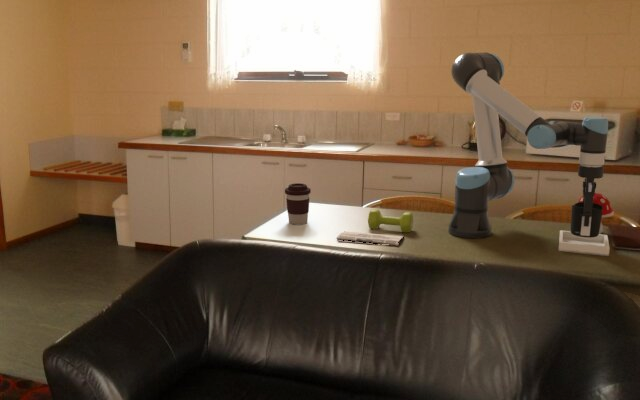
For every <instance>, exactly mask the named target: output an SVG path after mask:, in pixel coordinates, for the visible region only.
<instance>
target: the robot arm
mask: <svg viewBox="0 0 640 400" xmlns="http://www.w3.org/2000/svg"><path fill="white" fill-rule="evenodd" d="M450 70H451V76H452V77H451V78H452V79H453V81H454V82H455V83H456V85H457V86H458V87H460V88H461V89H462V90H463V91H464V92H465V93H467V94H469V95H470V96H471V98H472V107H473V108H472V109H473V116H474V127H475V136H476V145H477V156H478V157H477V158H478V161H477V162H476V163H475V164H474V166H471V167H463V168H461V169H460V170H458V171H457V172H456V175H455V176H456V177H455V182H454V183H455V190H454V191H455V193H454V209H453V213H452V217H451V219H450V221H449V224H448V230H447V231H448V233H449V234H451V235H453V236H455V237H459V238H466V239H483V238H487V237H489V236H491V235H492V226H491V222H490V218H489V215H488V214H489V213H488V205H489V201H492V200H497V199H501V198H503V197H505V196H507V195H509V194H510V193H511V191H512V190H513V188H514V186H515V182H516V181H515V175H514V172H513V171H512V170H511V169H510V168H509V165H508V161H507V160H506V159H505V158H504V157H503V150H502V140H501V130H500V119H499V116H501V117H502V118H503V119H504V120H506V121H507V122H508V123H509V124H511V125H512V126H513V127H514V128H515V129H517V130H518V131H520V133H522V134H523V135H525V136H526V138H527V142H528V144H529V145H530V146H531V148H534V149H537V150H543V149H550V148H553V147H558V146H562V145H566V146H568V145H569V146H578V147H579V146H580V147H579V149H580V150H579V158H578V163H579V165H578V169H577V176H578V177H579V178H584V179H583V180H584V181H582V196H583V202H584V210H583V214H581V216H582V224H581V234H580V235H584V236H590V227H591V216H592V207H593V197H594V195H595V193H596V188H597V182H596V181H595V179H601V178H603V177H604V169H605V167H604V165H605V159H608V156H607V155H606V151H607V150H606V149H607V141H608V134H609V120H608V119H607V118H606V117H600V116H586V117H583V120H582V122H574V121H562V120H550V121H547V120H545V119H544V118H543V117H542V116H541V115H540V114H538V113H536V112H535V111H534V110H533V109H531V108H530V107H529V106H527V105H526V104H525V103H523V102H522V101H521V100H520V99H518V98H517V97H516V96H515V95H514V94H512V93H511V92H510V91H508V90H507V89H505V88H504V87H503V86H501V84H500V83H501V82H500V81H501V80H502V79H503V77H504V74H505V66H504V62H503V61H502V59H501V58H500V57H499V56H498V55H496V54H494V53H489V52H464V53H462V54H460V55H458V56H457V57H456V58H455V60H453V62H452V65H451V69H450Z"/></svg>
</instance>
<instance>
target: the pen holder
mask: <svg viewBox="0 0 640 400" xmlns="http://www.w3.org/2000/svg"><path fill="white" fill-rule="evenodd" d="M583 210H584V202H578V201H577V202H576V203H574V204H572V205H571V212H570V213H571V214H570V215H571V217H570V231H571V233H572V234H573V235H576V236H580V237H597V236H598V235H599V230H600V224H601V222H602V218H603V217H602V211H603V206H602V205H600V204H596V203H593V207H592V216H591V227H590V236H584V235H580V234H581V224H582V216H581V214H583Z"/></svg>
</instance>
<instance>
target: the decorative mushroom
mask: <svg viewBox="0 0 640 400" xmlns="http://www.w3.org/2000/svg"><path fill="white" fill-rule="evenodd" d="M578 202H583V195H582V196H581V197H580V198H579V199H578V201H577V203H578ZM593 203H596V204H600V205H602V206H603V211H602V217H601V218H609V217H612V216H614V215H615V211H614V209H612V206H611V202H610V200H609V199H608V197H606V195H604V194H601V193H599V192H595V195H594V197H593ZM603 232H604V225H603V223H602V221H601V224H600V230H599V234H602V233H603Z"/></svg>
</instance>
